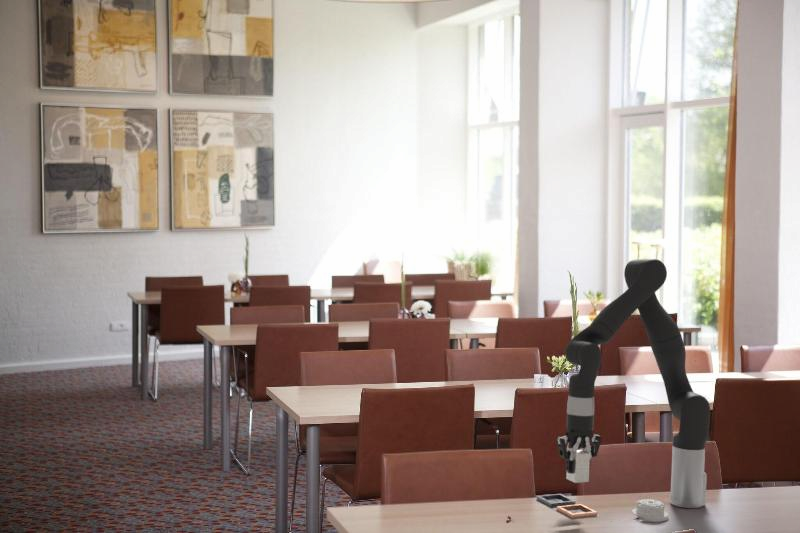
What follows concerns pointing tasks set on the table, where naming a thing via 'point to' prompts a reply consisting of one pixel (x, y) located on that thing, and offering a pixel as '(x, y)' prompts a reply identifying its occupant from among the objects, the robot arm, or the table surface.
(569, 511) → the double frame tray
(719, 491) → the table surface
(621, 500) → the table surface
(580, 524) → the table surface
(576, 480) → the block
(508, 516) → the pencil
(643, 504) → the mechanical component
